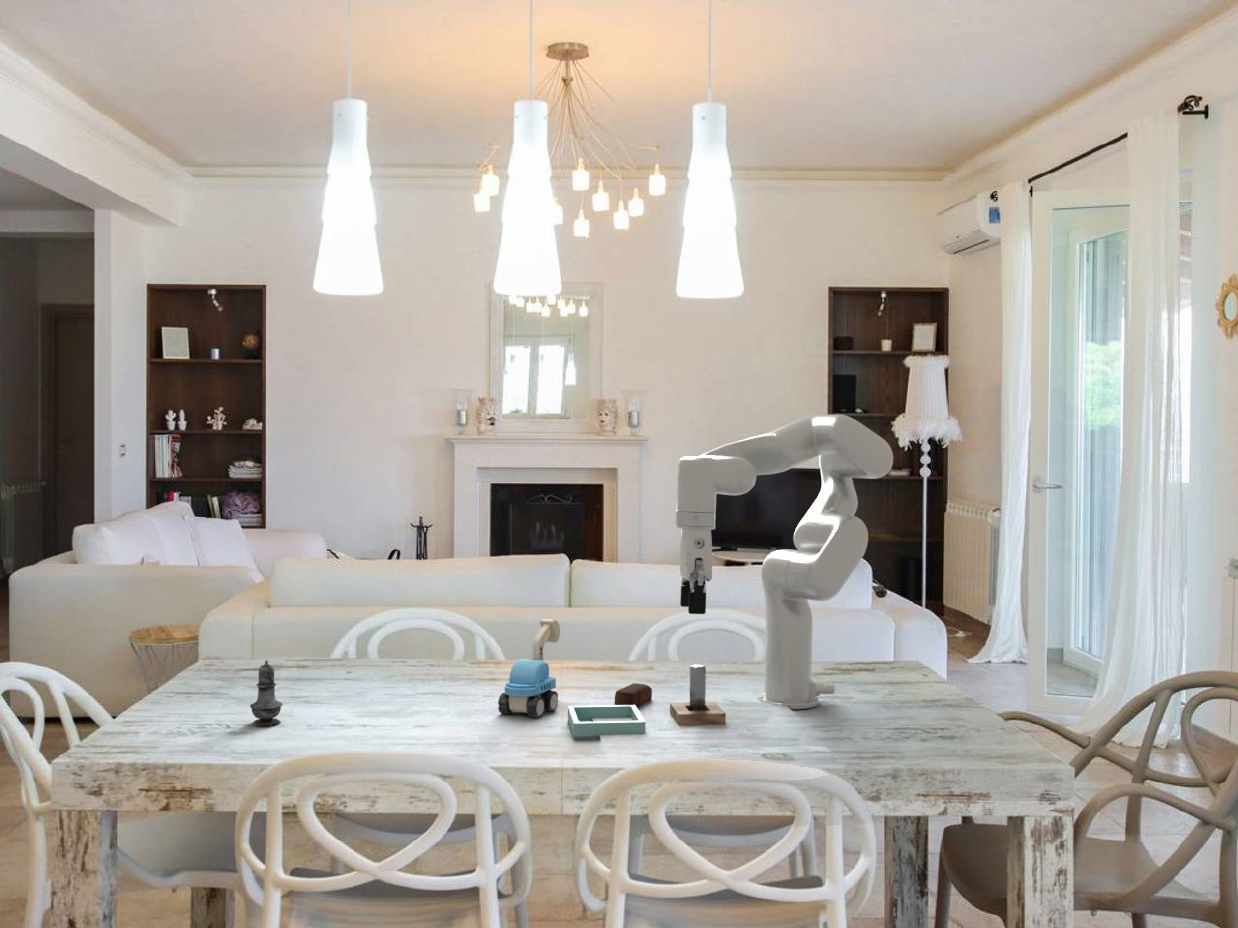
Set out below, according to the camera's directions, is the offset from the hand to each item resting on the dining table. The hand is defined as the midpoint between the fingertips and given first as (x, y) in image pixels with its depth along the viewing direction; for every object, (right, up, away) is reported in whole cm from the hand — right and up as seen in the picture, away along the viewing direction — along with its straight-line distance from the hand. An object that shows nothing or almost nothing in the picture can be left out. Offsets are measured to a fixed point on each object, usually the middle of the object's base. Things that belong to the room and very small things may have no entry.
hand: (692, 609), depth 222 cm
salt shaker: (-80, -21, -4) cm, 83 cm away
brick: (-11, -22, +10) cm, 26 cm away
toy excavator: (-31, -21, +9) cm, 38 cm away
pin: (+1, -21, -1) cm, 21 cm away
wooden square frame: (+1, -22, -1) cm, 22 cm away
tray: (-17, -22, -6) cm, 28 cm away
